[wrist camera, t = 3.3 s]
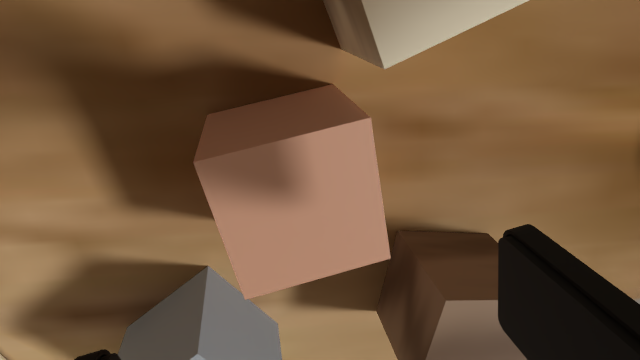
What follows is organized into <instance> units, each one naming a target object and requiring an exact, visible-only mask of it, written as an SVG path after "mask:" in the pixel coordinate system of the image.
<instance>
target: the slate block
mask: <svg viewBox="0 0 640 360" xmlns="http://www.w3.org/2000/svg"><path fill="white" fill-rule="evenodd" d="M118 356H119V357H120V359H121V360H282V356H281V347H280V339H279V330H278V323H276V322H275V321H274V320H273V319H272V318H270V317H269V316H268V315H267V314H266V313H264V312H263V311H262V310H261V309H260V308H258V307H257V306H256V305H255V304H254V303H252V302H251V301H250V300H249V299H247V300H245V299H244V296H243V294H242V293H240V292H239V291H238V290H237V289H236V288H234V287H233V286H232V285H231V284H230V283H228V282H227V281H226V280H225V279H224V278H222V277H221V276H220V275H219V274H218V273H216V272H215V271H214V270H213V269H212V268H210V267H209V266H207V267H206V268H205V269H203V270H202V271H201V272H199V273H198V274H197V275H195V276H194V277H193V278H192V279H190V280H189V281H188V282H186V283H185V284H184V285H182V286H181V287H180V288H178V289H177V290H176V291H174V292H173V293H172V294H170V295H169V296H168V297H167V298H165V299H164V300H163V301H161V302H160V303H159V304H157V305H156V306H155V307H153V308H152V309H151V310H149V311H148V312H147V313H145V314H144V315H143V316H141V317H140V318H139V319H138V320H136V321H135V322H134V323H132V324H131V325H130V326H128V327H127V329H126V332H125V335H124V338H123V341H122V344H121V347H120V350H119V352H118Z"/></svg>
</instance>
